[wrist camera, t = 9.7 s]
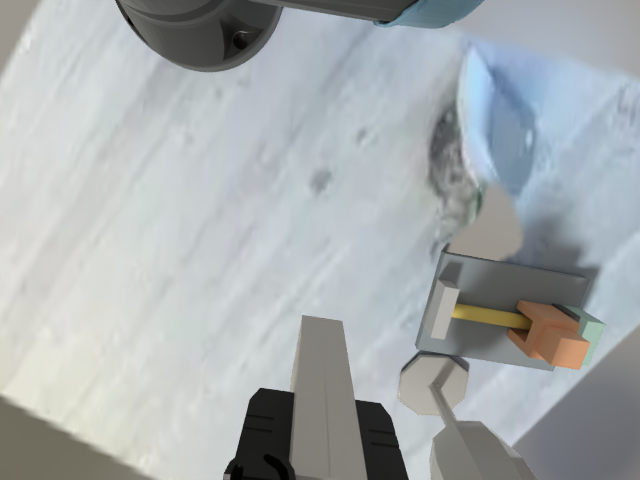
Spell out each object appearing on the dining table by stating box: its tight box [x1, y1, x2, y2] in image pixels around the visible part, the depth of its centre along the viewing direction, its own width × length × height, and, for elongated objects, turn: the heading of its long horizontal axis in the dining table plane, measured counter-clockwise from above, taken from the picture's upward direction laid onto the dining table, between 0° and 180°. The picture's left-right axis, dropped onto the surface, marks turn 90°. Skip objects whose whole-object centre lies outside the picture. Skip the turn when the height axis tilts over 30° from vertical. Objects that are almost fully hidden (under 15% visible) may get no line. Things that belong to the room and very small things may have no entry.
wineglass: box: [398, 354, 537, 480], centre depth 34 cm, size 9×9×21 cm
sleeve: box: [507, 300, 591, 370], centre depth 38 cm, size 5×4×7 cm
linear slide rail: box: [415, 251, 606, 371], centre depth 39 cm, size 12×17×5 cm
